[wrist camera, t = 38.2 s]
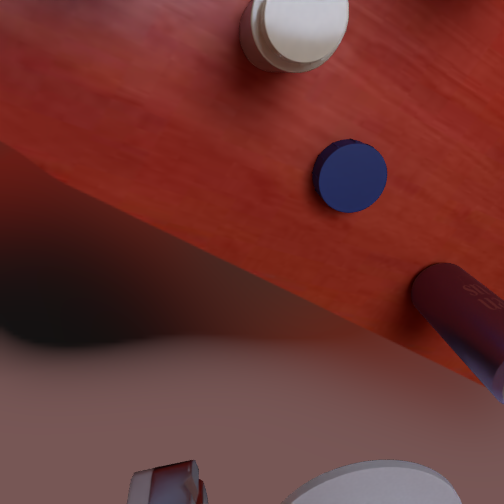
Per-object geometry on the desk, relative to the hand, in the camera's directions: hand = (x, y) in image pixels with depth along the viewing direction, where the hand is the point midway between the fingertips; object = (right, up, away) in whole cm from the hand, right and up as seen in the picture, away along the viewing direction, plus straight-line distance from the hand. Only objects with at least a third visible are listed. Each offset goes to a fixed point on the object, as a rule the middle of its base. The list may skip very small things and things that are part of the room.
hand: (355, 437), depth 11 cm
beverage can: (+16, +1, +33) cm, 37 cm away
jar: (-1, +22, +22) cm, 31 cm away
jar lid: (+6, +11, +25) cm, 28 cm away
